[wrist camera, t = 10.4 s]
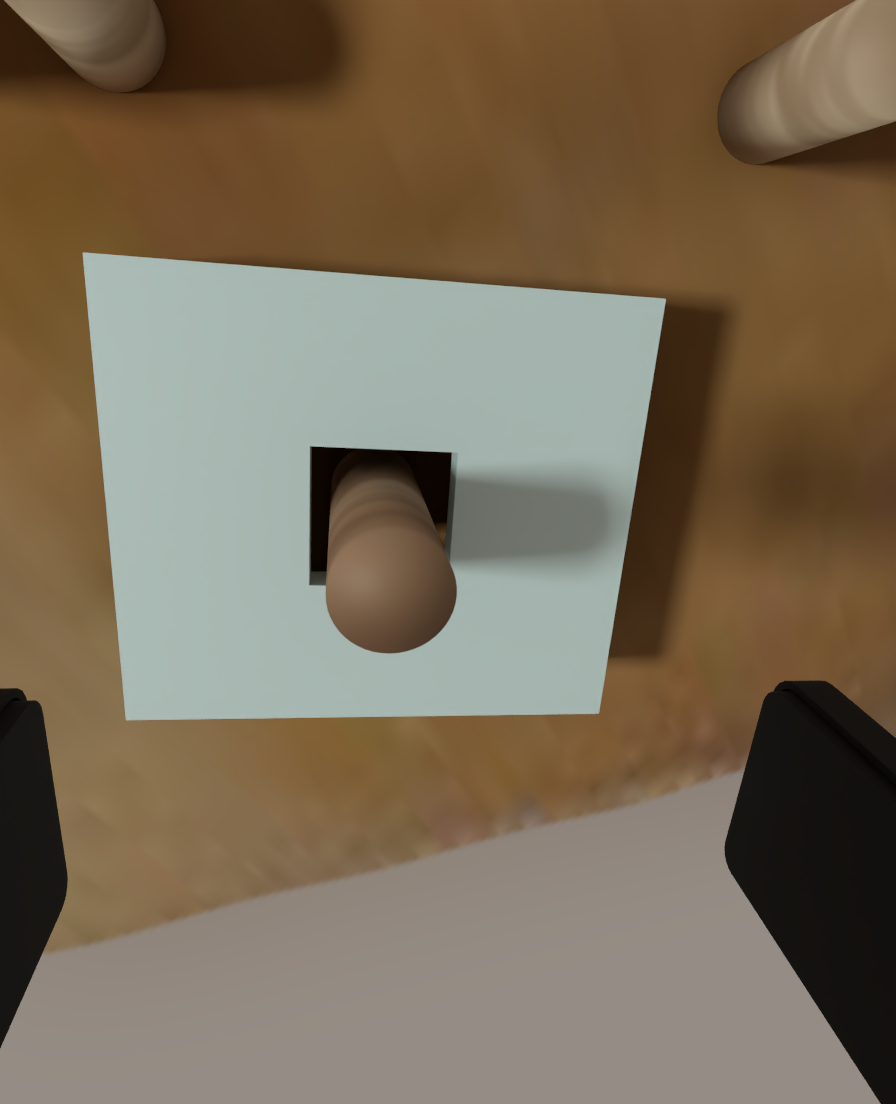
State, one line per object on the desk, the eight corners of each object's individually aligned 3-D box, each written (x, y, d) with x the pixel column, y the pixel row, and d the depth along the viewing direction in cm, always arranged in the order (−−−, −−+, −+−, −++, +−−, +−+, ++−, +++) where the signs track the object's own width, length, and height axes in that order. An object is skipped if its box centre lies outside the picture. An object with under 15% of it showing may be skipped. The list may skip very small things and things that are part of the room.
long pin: (332, 443, 25) (326, 530, 15) (417, 447, 25) (461, 533, 16) (330, 525, 26) (324, 653, 16) (412, 527, 26) (452, 653, 17)
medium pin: (727, 52, 22) (869, -39, 16) (814, 64, 23) (983, -20, 17) (709, 159, 23) (836, 111, 17) (792, 168, 24) (945, 125, 18)
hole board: (127, 260, 22) (82, 252, 18) (617, 298, 24) (665, 298, 21) (157, 660, 27) (126, 720, 23) (566, 659, 29) (598, 713, 25)
